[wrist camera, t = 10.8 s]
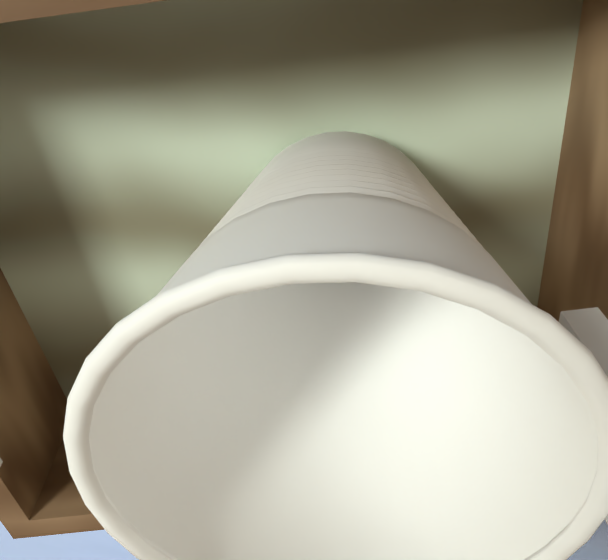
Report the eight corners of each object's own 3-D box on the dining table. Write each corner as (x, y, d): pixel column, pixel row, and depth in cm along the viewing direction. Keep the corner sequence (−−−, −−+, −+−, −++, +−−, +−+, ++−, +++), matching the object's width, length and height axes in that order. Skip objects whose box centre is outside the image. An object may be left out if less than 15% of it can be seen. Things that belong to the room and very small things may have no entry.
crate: (-162, -19, 16) (-369, 13, 11) (625, -130, 15) (799, -150, 10) (65, 416, 26) (13, 538, 21) (542, 364, 25) (607, 477, 20)
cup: (258, 3, 16) (137, 138, 6) (550, 148, 17) (780, 413, 8) (163, 269, 21) (22, 550, 12) (395, 359, 23) (430, 663, 13)
